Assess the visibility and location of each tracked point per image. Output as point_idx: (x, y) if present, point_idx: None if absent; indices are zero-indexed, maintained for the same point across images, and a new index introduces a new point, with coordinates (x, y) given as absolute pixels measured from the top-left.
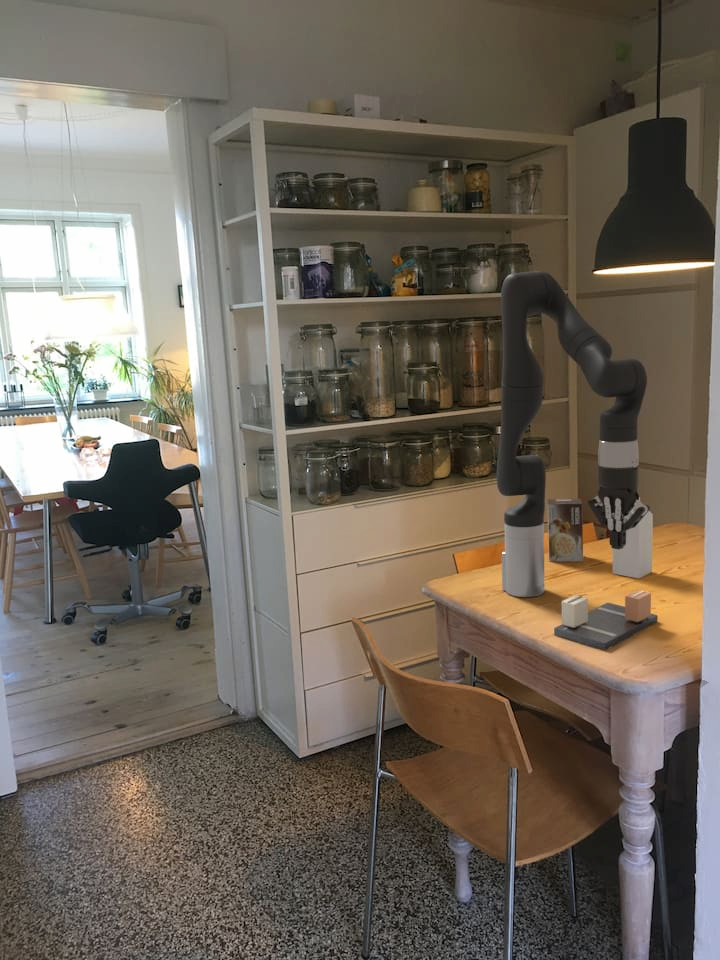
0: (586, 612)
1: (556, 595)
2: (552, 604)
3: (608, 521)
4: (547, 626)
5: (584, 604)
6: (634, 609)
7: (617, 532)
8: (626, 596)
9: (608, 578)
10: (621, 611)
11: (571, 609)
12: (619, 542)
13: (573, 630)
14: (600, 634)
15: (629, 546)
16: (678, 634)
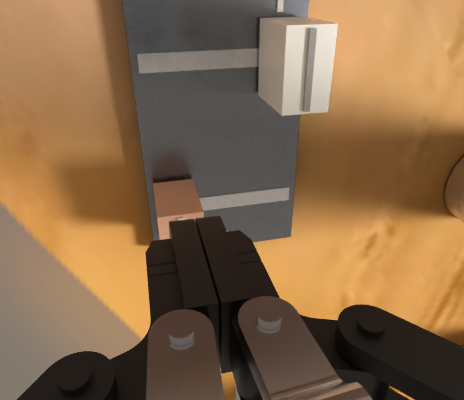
0: (267, 95)
1: (414, 209)
2: (400, 161)
3: (318, 362)
4: (346, 26)
5: (277, 91)
6: (167, 198)
7: (187, 304)
8: (199, 212)
9: None
10: (233, 216)
11: (289, 23)
12: (169, 258)
13: (255, 9)
14: (176, 41)
15: None
16: (68, 222)
